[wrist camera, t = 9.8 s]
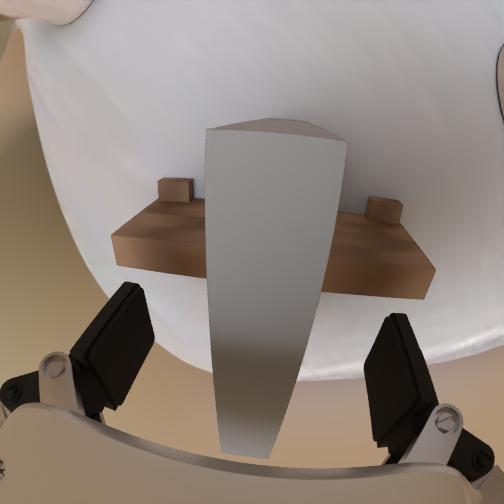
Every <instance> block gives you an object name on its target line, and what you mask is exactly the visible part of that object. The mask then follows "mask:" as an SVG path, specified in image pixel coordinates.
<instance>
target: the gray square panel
mask: <svg viewBox="0 0 504 504" xmlns="http://www.w3.org/2000/svg"><path fill="white" fill-rule="evenodd" d="M347 145H348V142H346V141H344V140H342V139H340V138H339V137H337V136H335V135H333V134H331V133H329V132H327V131H325V130H323V129H321V128H319V127H316V126H314V125H312V124H310V123H308V122H304V121H295V120H286V119H274V118H267V119H260V120H254V121H248V122H242V123H236V124H231V125H226V126H221V127H216V128H211V129H206V143H205V229H206V266H207V290H208V310H209V327H210V342H211V355H212V368H213V379H214V391H215V401H216V411H217V420H218V429H219V437H220V445H221V452H222V453H227V454H233V455H239V456H246V457H253V458H262V459H269V456H270V454H271V451H272V449H273V446H274V443H275V441H276V438H277V435H278V432H279V430H280V427H281V424H282V422H283V419H284V416H285V413H286V410H287V407H288V404H289V401H290V398H291V395H292V392H293V389H294V386H295V383H296V380H297V377H298V373H299V370H300V367H301V363H302V360H303V357H304V353H305V350H306V346H307V343H308V339H309V336H310V332H311V328H312V324H313V321H314V317H315V313H316V309H317V305H318V301H319V297H320V293H321V289H322V284H323V280H324V276H325V271H326V267H327V262H328V258H329V253H330V248H331V243H332V238H333V233H334V228H335V222H336V217H337V211H338V206H339V200H340V194H341V188H342V181H343V175H344V168H345V161H346V153H347Z"/></svg>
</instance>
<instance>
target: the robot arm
mask: <svg viewBox="0 0 504 504" xmlns="http://www.w3.org/2000/svg"><path fill="white" fill-rule="evenodd" d="M497 80H498V90H499V97H500V103H501V108H502V112H503V116H504V46H503V47H502V50H501V53H500V55H499V61H498V77H497ZM154 340H155V335H154V331H153V327H152V324H151V320H150V315H149V311H148V307H147V303H146V298H145V294H144V290H143V288H141V287H140V285H139V284H137V283H132V282H124V283H123V284H122V285H121V286H120V288H119V289H118V290H117V291H116V292H115V294H114V295H113V296H112V297H111V298H110V300H109V301H108V302H107V303H106V305H105V306H104V307H103V308H102V310H101V311H100V312H99V313H98V315H97V316H96V317H95V318H94V320H93V321H92V322H91V324H90V325H89V326H88V327H87V329H86V330H85V331H84V333H83V334H82V335H81V337H80V338H79V340H78V341H77V342H76V343H75V345H74V346H73V347H72V349H71V350H70V352H71V353H70V354H69V355H67V354H65V353H63V352H53V353H50V354H48V355H47V356H46V357H44V358H43V360H42V361H41V363H40V365H39V370H38V371H35V372H32V373H28V374H25V375H22V376H18V377H15V378H12V379H9V380H7V381H6V382H5V383H4V384H3V385H2V387H1V389H0V504H504V473H503V472H502V470H501V469H500V468H499V466H498V465H496V466H494V459H495V456H494V452H493V450H492V448H491V447H490V446H489V445H487V444H485V443H484V442H483V441H481V440H480V439H478V438H477V437H475V436H474V435H472V434H471V433H469V432H468V431H466V430H465V429H464V428H462V427H463V417H462V415H461V412H460V411H459V410H458V409H457V408H456V407H455V406H453V405H451V404H445V403H444V404H440V405H439V403H438V400H437V396H436V392H435V389H434V386H433V383H432V380H431V377H430V374H429V371H428V368H427V365H426V362H425V359H424V356H423V354H422V351H421V349H420V348H419V345H418V342H417V340H416V337H415V335H414V332H413V330H412V327H411V325H410V322H409V320H408V317H407V315H406V314H404V313H391V314H390V315H389V317H388V316H387V317H386V318H385V319H384V322H383V324H382V326H381V329H380V331H379V333H378V335H377V338H376V340H375V342H374V344H373V346H372V348H371V350H370V352H369V354H368V356H367V358H366V360H365V363H364V374H365V380H366V387H367V394H368V400H369V408H370V416H371V425H372V434H373V439H374V441H377V447H378V448H381V447H388V453H389V455H388V456H387V457H386V458H385V460H384V461H383V463H382V464H381V465H379V466H368V467H352V468H319V469H318V468H289V467H274V466H265V465H255V464H247V463H240V462H234V461H228V460H222V459H217V458H212V457H207V456H202V455H198V454H194V453H189V452H186V451H182V450H177V449H174V448H170V447H166V446H163V445H160V444H157V443H154V442H150V441H148V440H145V439H141V438H139V437H136V436H133V435H130V434H128V433H125V432H122V431H120V430H117V429H114V428H112V427H109V426H107V425H106V423H105V420H104V417H103V413H102V411H103V409H104V407H107V408H110V409H112V410H115V411H116V409H117V407H118V405H119V406H120V405H122V404H123V402H124V400H125V398H126V396H127V394H128V392H129V390H130V388H131V386H132V384H133V382H134V380H135V378H136V376H137V374H138V372H139V370H140V368H141V366H142V364H143V363H144V361H145V359H146V357H147V355H148V353H149V351H150V349H151V347H152V346H153V343H154Z"/></svg>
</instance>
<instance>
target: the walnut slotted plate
mask: <svg viewBox="0 0 504 504" xmlns="http://www.w3.org/2000/svg"><path fill="white" fill-rule="evenodd" d="M158 194H159V198H158V199H157V200H156V201H154V202H153V203H152V204H150V205H149V206H148V207H146V208H145V209H144V210H142V211H141V212H140V213H138V214H137V215H136V216H134V217H133V218H132V219H131V220H129V221H128V222H127V223H125V224H124V225H123V226H122V227H120V228H119V229H118V230H117V231H115V232H114V233H113V234H112V235H111V238H112V243H113V248H114V253H115V258H116V263H117V266H124V267H130V268H136V269H143V270H149V271H156V272H163V273H170V274H177V275H184V276H191V277H199V278H206V279H207V266H206V229H205V199H199V198H194V195H193V179H189V178H162V179H161V180H159V181H158ZM402 208H403V205H402V204H401V203H400V202H399V201H397V200H391V199H386V198H380V197H374V196H369V198H368V203H367V208H366V213H365V215H359V214H352V213H345V212H337V217H336V222H335V228H334V233H333V238H332V243H331V248H330V253H329V258H328V262H327V267H326V271H325V276H324V280H323V284H322V289H321V292H331V293H342V294H354V295H366V296H379V297H393V298H407V299H423V300H424V298H425V295H426V293H427V291H428V288H429V286H430V284H431V281H432V279H433V276H434V274H435V271H436V269H435V268H434V266H433V265H432V264H431V262H430V261H429V259H428V258H427V257H426V255H425V254H424V253H423V251H422V250H421V249H420V248H419V246H418V245H417V244H416V242H415V241H414V240H413V239H412V237H411V236H410V235H409V234H408V232H407V231H406V230H405V229H404V227H403V226H402V225H401V224H400V223H399V221H400V217H401V212H402Z"/></svg>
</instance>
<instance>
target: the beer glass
mask: <svg viewBox="0 0 504 504" xmlns="http://www.w3.org/2000/svg"><path fill="white" fill-rule="evenodd" d="M91 2H92V0H0V22H4V21H10V20H16V19H24V18H37V19H42V20H45V21H47V22H49V23H52V24H54V25H58V26H62V25H67V24H69V23H71V22H72V21H74V20H75V19H77V18H78V17H79V16H80V15H81V14H82V13H83V12H84V11H85V10H86V9H87V8H88V6H89V5H90V4H91Z"/></svg>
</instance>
